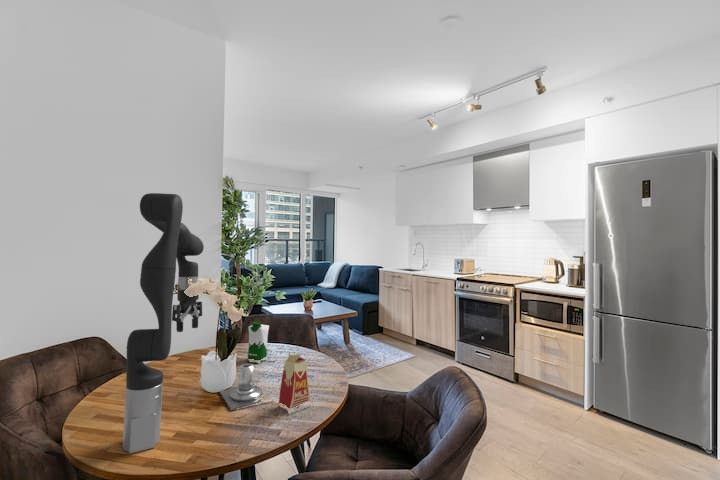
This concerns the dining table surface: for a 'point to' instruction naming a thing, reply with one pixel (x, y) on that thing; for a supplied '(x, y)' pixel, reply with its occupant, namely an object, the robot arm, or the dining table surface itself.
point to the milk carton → (294, 382)
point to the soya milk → (257, 341)
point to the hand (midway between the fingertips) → (187, 329)
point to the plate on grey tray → (240, 398)
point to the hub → (246, 379)
